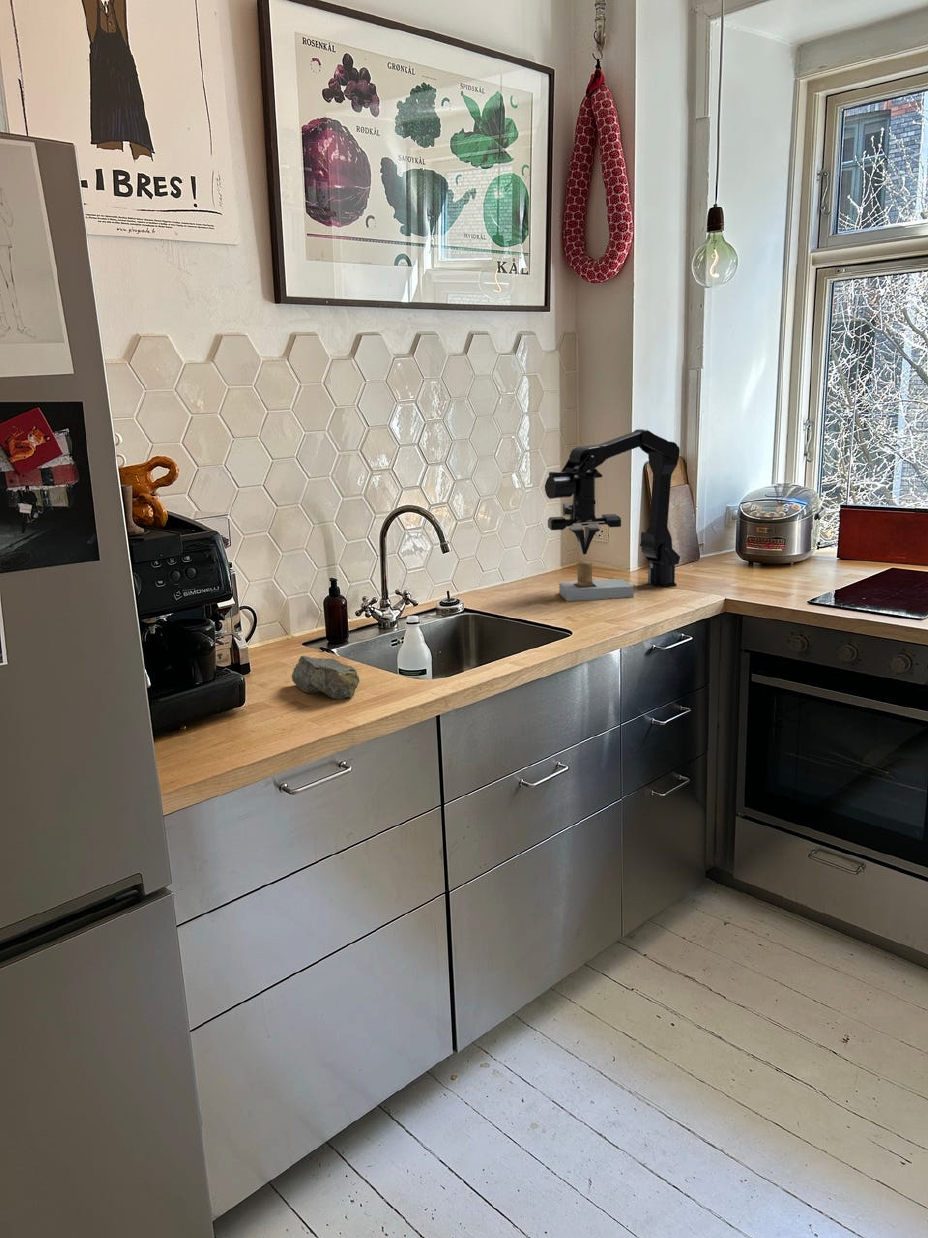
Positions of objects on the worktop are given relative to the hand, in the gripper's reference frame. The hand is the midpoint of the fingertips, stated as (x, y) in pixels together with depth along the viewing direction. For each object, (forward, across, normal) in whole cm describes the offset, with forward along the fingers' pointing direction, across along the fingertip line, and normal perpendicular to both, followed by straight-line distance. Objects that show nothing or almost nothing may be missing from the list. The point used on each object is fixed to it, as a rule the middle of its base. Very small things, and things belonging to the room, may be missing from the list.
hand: (584, 554), depth 238 cm
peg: (+12, 0, 0) cm, 12 cm away
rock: (+12, +66, +66) cm, 94 cm away
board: (+12, -3, 0) cm, 12 cm away
